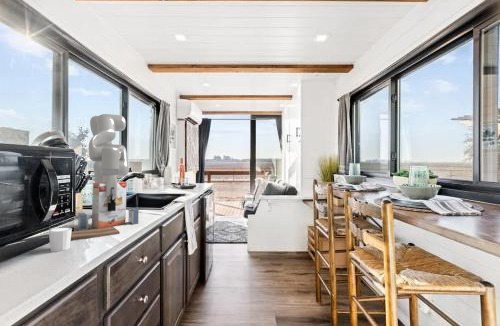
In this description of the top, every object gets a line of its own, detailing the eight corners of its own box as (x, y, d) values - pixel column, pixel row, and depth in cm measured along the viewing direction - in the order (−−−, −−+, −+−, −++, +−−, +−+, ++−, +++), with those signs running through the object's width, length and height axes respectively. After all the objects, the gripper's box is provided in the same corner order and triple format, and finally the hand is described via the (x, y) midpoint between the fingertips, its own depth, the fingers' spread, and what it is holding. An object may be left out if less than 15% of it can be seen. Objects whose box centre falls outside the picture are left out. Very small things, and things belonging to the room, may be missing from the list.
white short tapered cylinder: (74, 249, 99) (74, 229, 99) (50, 253, 94) (51, 233, 94) (68, 244, 104) (68, 226, 103) (46, 249, 99) (46, 229, 98)
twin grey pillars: (78, 228, 128) (78, 213, 128) (134, 221, 144) (134, 208, 144) (80, 231, 123) (80, 215, 123) (138, 223, 139) (138, 209, 139)
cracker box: (98, 229, 126) (99, 183, 126) (91, 227, 129) (91, 182, 129) (126, 223, 138) (127, 181, 138) (119, 222, 141) (119, 180, 141)
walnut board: (66, 234, 117) (66, 232, 117) (112, 228, 129) (112, 226, 128) (70, 240, 109) (70, 238, 109) (119, 233, 120) (119, 231, 120)
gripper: (97, 171, 138) (97, 207, 138) (105, 173, 124) (105, 213, 125) (114, 171, 143) (113, 206, 143) (123, 173, 129) (123, 211, 129)
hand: (109, 209), depth 134 cm, fingers closed on cracker box, 7 cm apart
